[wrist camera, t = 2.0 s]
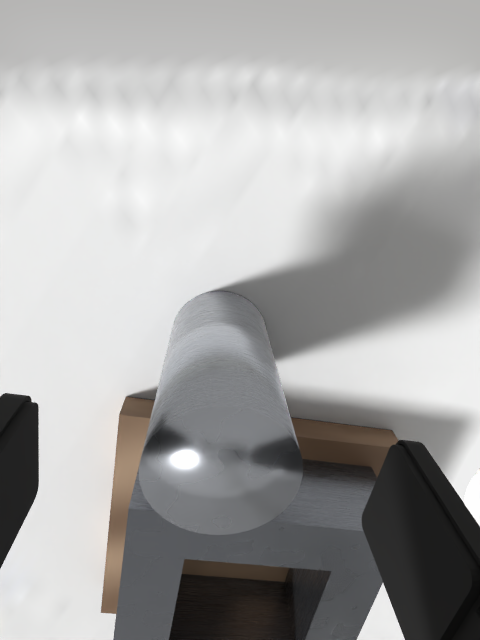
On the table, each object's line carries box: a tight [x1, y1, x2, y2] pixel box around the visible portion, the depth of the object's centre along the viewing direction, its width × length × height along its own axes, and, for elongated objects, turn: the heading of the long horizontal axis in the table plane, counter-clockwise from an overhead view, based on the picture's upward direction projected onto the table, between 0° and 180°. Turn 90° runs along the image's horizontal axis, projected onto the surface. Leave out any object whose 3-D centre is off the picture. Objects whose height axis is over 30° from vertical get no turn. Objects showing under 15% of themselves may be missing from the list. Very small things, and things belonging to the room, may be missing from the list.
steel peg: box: [139, 291, 303, 535], centre depth 15 cm, size 4×4×9 cm
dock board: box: [101, 397, 398, 614], centre depth 23 cm, size 14×14×2 cm
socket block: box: [114, 459, 383, 640], centre depth 21 cm, size 11×11×4 cm
